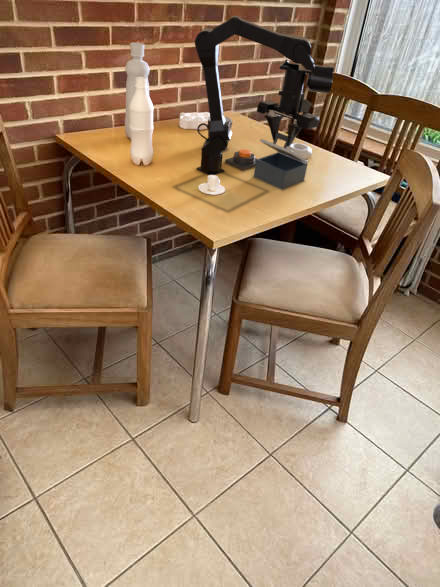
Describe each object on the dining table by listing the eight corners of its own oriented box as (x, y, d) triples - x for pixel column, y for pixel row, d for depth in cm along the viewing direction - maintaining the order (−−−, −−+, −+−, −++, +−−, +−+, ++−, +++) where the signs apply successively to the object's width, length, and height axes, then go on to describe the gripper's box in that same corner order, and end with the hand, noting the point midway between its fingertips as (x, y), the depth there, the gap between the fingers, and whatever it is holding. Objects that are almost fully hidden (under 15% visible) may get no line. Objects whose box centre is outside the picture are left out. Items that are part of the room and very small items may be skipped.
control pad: (242, 170, 148) (244, 162, 146) (224, 162, 152) (225, 154, 150) (261, 164, 154) (263, 155, 152) (244, 156, 158) (245, 148, 156)
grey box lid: (290, 153, 132) (296, 138, 131) (259, 141, 138) (265, 126, 137) (307, 163, 142) (313, 150, 141) (278, 151, 148) (284, 138, 147)
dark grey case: (282, 190, 139) (286, 171, 135) (253, 177, 144) (256, 159, 141) (303, 181, 146) (307, 163, 142) (275, 169, 152) (278, 152, 148)
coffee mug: (230, 145, 165) (233, 117, 159) (228, 154, 158) (231, 125, 152) (198, 141, 165) (200, 113, 159) (195, 149, 159) (197, 120, 152)
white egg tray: (212, 118, 190) (227, 129, 180) (171, 119, 183) (185, 131, 172) (213, 109, 188) (228, 121, 177) (172, 111, 181) (185, 122, 170)
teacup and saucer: (211, 181, 139) (212, 168, 136) (231, 190, 135) (233, 177, 133) (192, 189, 133) (193, 176, 131) (213, 198, 129) (214, 185, 127)
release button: (245, 159, 149) (245, 154, 148) (236, 155, 151) (236, 150, 150) (252, 156, 151) (253, 152, 150) (243, 153, 153) (244, 148, 152)
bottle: (120, 135, 162) (117, 41, 144) (144, 133, 167) (144, 41, 149) (131, 144, 157) (130, 46, 139) (155, 141, 161) (156, 46, 143)
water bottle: (149, 168, 141) (149, 82, 126) (127, 164, 142) (124, 78, 127) (156, 160, 147) (157, 77, 132) (135, 156, 148) (133, 73, 133)
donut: (289, 148, 169) (279, 155, 162) (290, 139, 167) (281, 146, 160) (314, 155, 166) (305, 163, 159) (316, 146, 164) (307, 153, 157)
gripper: (335, 94, 128) (321, 148, 137) (283, 78, 137) (273, 130, 146) (313, 97, 121) (301, 155, 130) (260, 81, 130) (251, 135, 139)
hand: (281, 143), depth 137 cm, fingers closed on grey box lid, 5 cm apart
